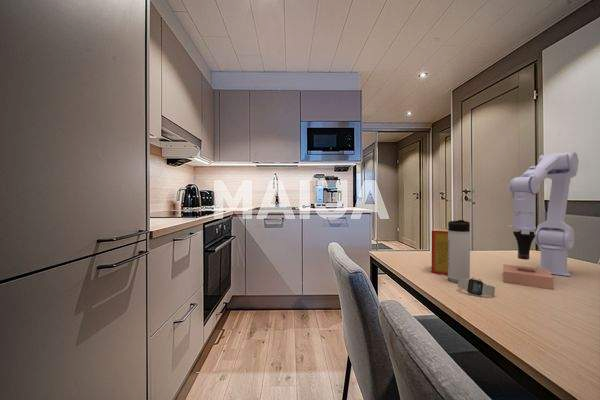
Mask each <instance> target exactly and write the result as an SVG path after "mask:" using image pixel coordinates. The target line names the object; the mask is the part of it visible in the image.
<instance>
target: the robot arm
mask: <svg viewBox="0 0 600 400" xmlns="http://www.w3.org/2000/svg"><path fill="white" fill-rule="evenodd" d="M579 162H580V161H579V157H578V153H577V152H575V151H573V150H571V151H567V152H559V153H550V154H549V153H547V154H543V153H542V154H541V155H540V156H539V157H538V160H537V164H536V165H531V166H529V167H528V168H527V170H526V171H525V172H523V173H522V174H521V175H520V176H519V177H518V176H515V177H514V178H512V179H511V180H510V181H509V182H510V183H509V187H508V188H509V192H510V194H511V195H510V198H511V199H512V205H513V206H512V224H511V225H510V224H508V229H509V228H510V229H516V230H519V231H516V230H515V231H513V232H512V233H513V236H514V237H515V240H516V242H517V243H516V244H517V249H518V248H519V253H520V254H521V255H528V254H529V255H530V252H531V251H530V250H531V246H532V243H533V241H534V242H535V244H536V245H537V246H538V248H540V265H539V266H537V268H541V269H548V270H549V272H550V273H551V275H557V276H566V277H571V273H569V271H568V250H571V249H572V248H573V247H574V245H575V229H574V228H573V227H572V226H570V225H569V224H567V222H565V220H566V214H567V213H566V212H567V206H568V199H569V197H568V196H569V190H570V183H571V180H572V178H574V177H576V176H577V173H578V171H579V170H578V169H579ZM546 179H550V180H551V187H550V193H549V201H548V207H547V213H546V214H547V215H546V216H547V217H546V220H545V221H542V222H541V223H538V225H537V227H536V194H538V193H539V191H540V188H541V185H542V182H544V181H545V180H546ZM533 230H535V231H533Z"/></svg>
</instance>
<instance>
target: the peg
mask: <svg viewBox="0 0 600 400" xmlns="http://www.w3.org/2000/svg"><path fill="white" fill-rule="evenodd" d="M517 259H519V260H525V261H526V260H530V253H529V254H528V255H521V254H520V253H519V248H518V247H517Z"/></svg>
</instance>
